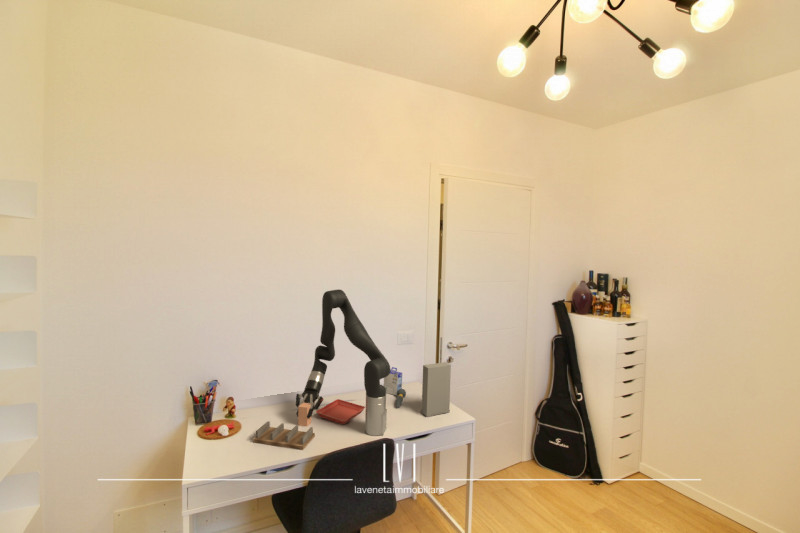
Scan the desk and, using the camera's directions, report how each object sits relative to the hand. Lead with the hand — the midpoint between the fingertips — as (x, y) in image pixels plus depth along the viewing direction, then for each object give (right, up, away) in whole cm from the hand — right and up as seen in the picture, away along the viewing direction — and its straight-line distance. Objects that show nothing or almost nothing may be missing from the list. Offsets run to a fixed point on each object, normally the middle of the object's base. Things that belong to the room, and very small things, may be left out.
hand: (303, 416), depth 165 cm
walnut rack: (-5, -5, -12) cm, 14 cm away
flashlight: (+46, -5, +30) cm, 55 cm away
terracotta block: (0, -4, +2) cm, 5 cm away
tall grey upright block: (+64, -5, +18) cm, 66 cm away
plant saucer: (+16, -5, +12) cm, 20 cm away
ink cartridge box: (+41, -4, +42) cm, 59 cm away
